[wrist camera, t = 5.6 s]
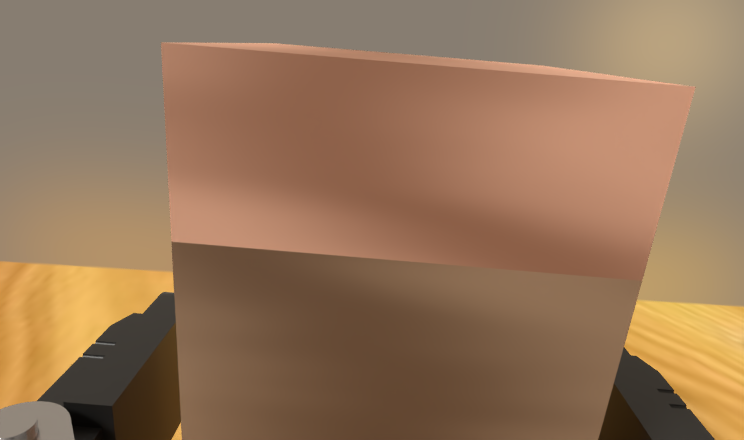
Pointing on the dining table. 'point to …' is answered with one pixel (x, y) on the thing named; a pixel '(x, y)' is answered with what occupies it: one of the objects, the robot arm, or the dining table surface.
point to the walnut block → (406, 240)
